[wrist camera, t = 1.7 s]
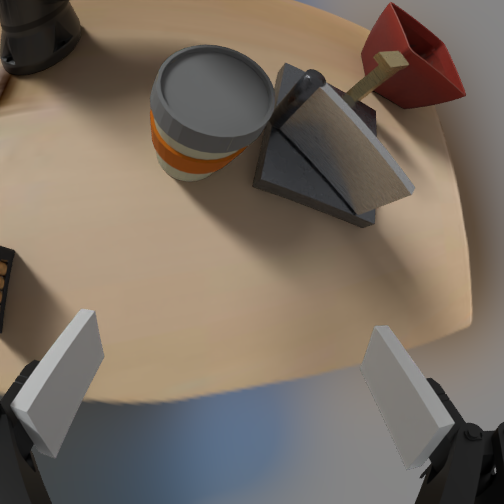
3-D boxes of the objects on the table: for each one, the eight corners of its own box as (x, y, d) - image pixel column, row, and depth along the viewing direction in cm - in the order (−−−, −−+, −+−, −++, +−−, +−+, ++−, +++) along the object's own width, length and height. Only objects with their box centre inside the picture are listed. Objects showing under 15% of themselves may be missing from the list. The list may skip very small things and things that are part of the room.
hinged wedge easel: (264, 118, 41) (301, 73, 31) (276, 110, 42) (313, 66, 32) (356, 217, 44) (410, 197, 34) (364, 206, 45) (416, 184, 35)
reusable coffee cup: (188, 100, 41) (215, 29, 27) (249, 154, 43) (299, 98, 29) (124, 151, 37) (125, 80, 23) (190, 213, 39) (223, 166, 25)
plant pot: (403, 72, 65) (445, 42, 50) (416, 126, 61) (468, 97, 46) (348, 39, 59) (389, 0, 43) (356, 92, 55) (410, 49, 39)
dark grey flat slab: (252, 186, 43) (260, 178, 40) (278, 72, 48) (285, 62, 45) (362, 227, 49) (374, 224, 46) (366, 117, 54) (375, 110, 52)
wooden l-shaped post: (322, 102, 50) (378, 51, 35) (344, 95, 53) (399, 50, 38) (331, 116, 51) (390, 67, 35) (353, 108, 53) (409, 64, 38)
